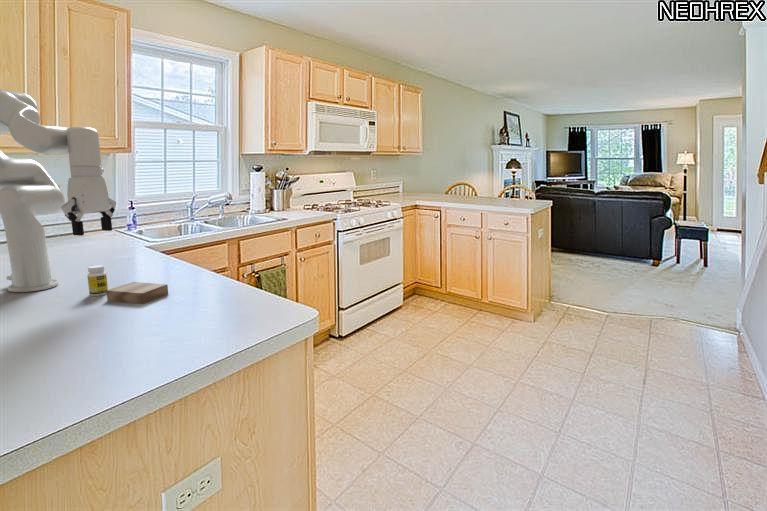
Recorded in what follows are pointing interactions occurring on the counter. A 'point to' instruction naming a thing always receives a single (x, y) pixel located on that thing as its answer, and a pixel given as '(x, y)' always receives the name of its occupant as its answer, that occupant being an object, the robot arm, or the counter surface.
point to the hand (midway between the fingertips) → (93, 232)
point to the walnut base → (137, 292)
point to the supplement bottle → (97, 280)
